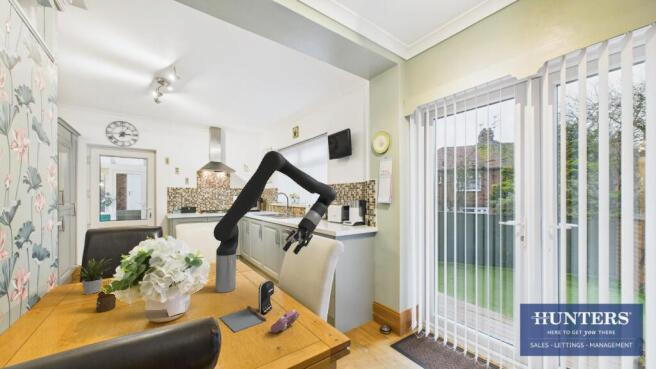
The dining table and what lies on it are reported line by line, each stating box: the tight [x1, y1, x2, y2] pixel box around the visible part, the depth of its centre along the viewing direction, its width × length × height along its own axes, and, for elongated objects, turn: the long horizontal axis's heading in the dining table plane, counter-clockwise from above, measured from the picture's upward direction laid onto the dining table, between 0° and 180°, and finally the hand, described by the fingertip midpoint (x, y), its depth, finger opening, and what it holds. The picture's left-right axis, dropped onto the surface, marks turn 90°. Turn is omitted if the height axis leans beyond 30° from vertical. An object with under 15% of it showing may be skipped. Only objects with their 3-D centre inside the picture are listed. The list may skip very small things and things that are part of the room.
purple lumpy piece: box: [270, 309, 300, 334], centre depth 88 cm, size 10×5×7 cm, turn 148°
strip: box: [246, 305, 267, 323], centre depth 98 cm, size 14×1×1 cm, turn 43°
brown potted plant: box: [95, 279, 117, 313], centre depth 102 cm, size 6×6×12 cm
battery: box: [257, 280, 275, 315], centre depth 101 cm, size 7×4×11 cm, turn 165°
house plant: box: [75, 258, 112, 295], centre depth 120 cm, size 14×14×16 cm
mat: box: [219, 308, 264, 333], centre depth 94 cm, size 14×11×1 cm
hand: (289, 251), depth 109 cm, fingers open, 8 cm apart
